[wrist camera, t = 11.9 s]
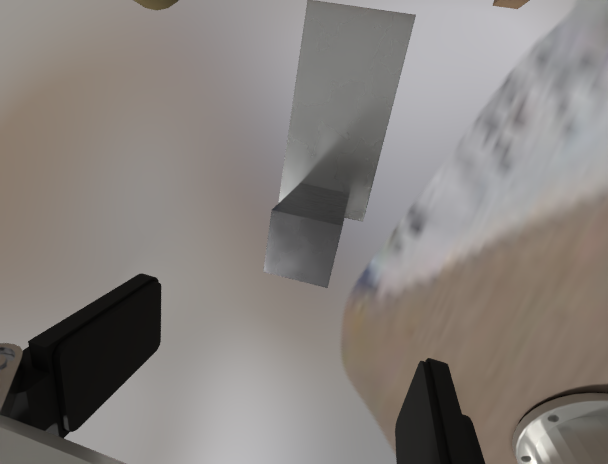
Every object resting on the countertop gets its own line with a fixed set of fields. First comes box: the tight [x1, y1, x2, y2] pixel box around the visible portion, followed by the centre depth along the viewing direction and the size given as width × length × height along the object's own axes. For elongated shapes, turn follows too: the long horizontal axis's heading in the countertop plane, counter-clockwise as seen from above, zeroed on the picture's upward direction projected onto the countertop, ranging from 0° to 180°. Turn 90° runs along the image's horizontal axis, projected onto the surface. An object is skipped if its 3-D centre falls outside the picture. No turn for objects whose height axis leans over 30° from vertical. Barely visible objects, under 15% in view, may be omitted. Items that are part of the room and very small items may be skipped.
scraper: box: [263, 0, 415, 288], centre depth 20 cm, size 16×7×9 cm, turn 170°
